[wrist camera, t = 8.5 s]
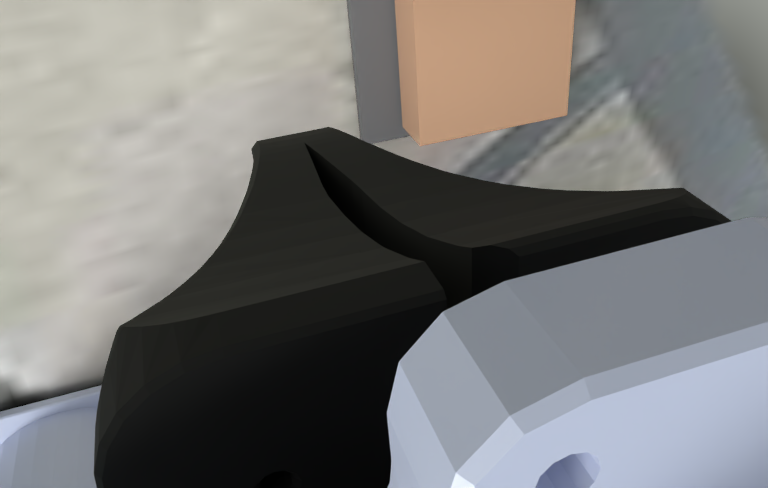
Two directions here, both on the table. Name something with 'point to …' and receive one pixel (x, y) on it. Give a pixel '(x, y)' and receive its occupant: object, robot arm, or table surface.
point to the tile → (482, 64)
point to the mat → (376, 69)
